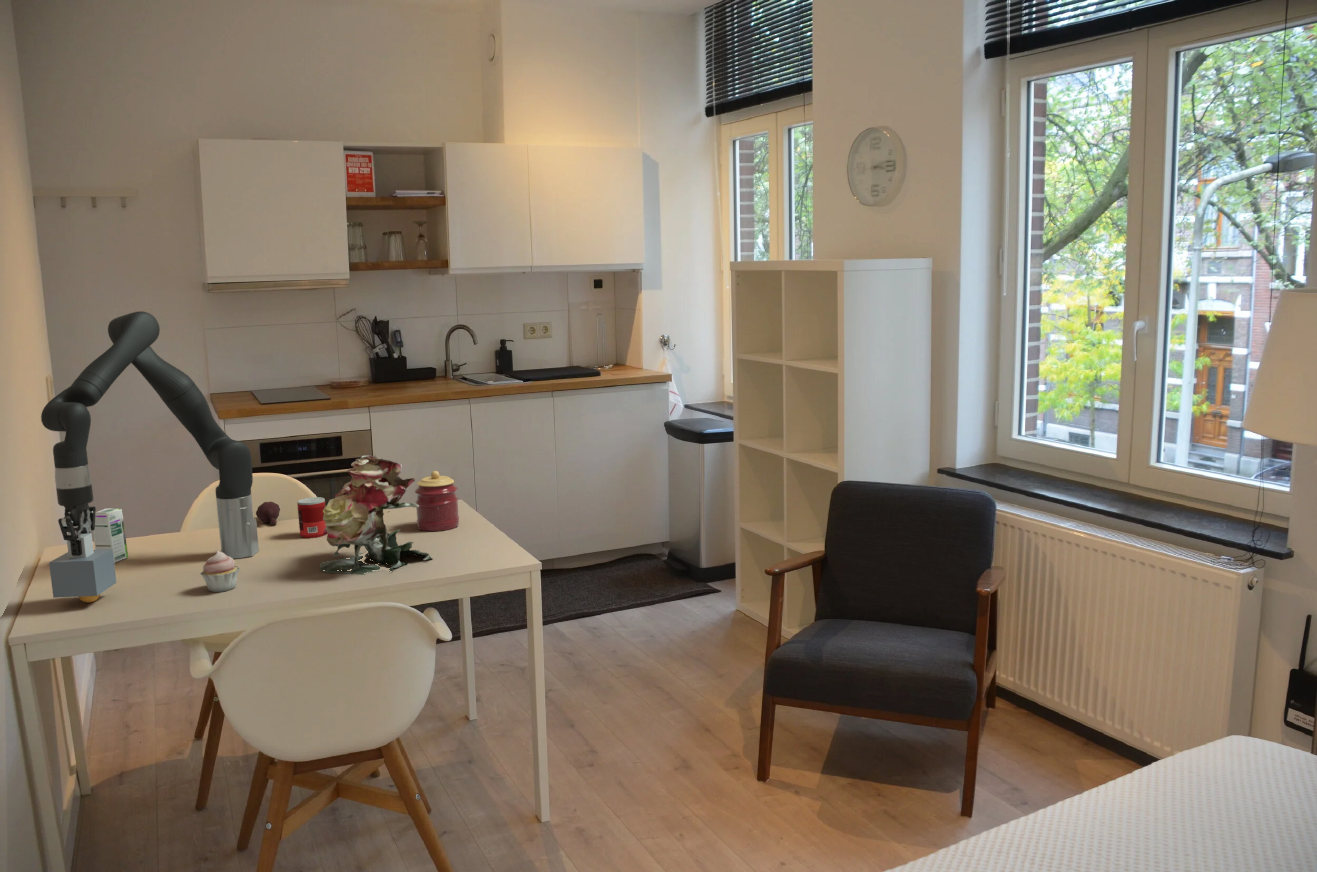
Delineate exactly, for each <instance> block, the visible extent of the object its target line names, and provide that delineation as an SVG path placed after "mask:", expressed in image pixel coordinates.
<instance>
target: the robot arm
mask: <svg viewBox="0 0 1317 872" xmlns="http://www.w3.org/2000/svg"><path fill="white" fill-rule="evenodd" d="M160 329H161V328H160V323H159V322H158V320H157V318H156V317H155V316H154V315H153V314H152V313H150V312H147V311H134V312H130V313H127V314H123V315H120V316H117V317H115V318H113V319H112V320H111V321H110V322H109V323H108V326H107V334H108V337H109V339H110V341H111V342H112V345H111V346H110V347H109V348H108V349H106V351H105V352H103V353H102V354H101V355H99V356H98V357H97V358H95V359H94V360H93V361H91V362H90V363H89V364H88V365H87V366H86V367H85V368H84V369H83V370H82V371H81V372H80V374H79V375H78V376H77V377H76V378H75V380H74V381H73V382H72V383H71V384H70V386H68V387H67V388H65V389H64V390H62V391H61V392H59V393H58V394H57V395H56V396H55V397H53V398H52V399H50V400H49V402H47V404H46V405H45V406H44V407H43V409H42V411H41V413H40V415H41V416H40V421H41V423H42V426H44V428H45V429H47V430H48V431H52V432H63V433H64V432H65V437H64V440H63V441H59V442H57V443H55V444H54V445H53V447H52V453H53V462H54V483H55V488H56V489H55V490H56V498H57V499H56V500H57V504H58V505H59V506H60V507H64V516H63V517H62V518H61V517H60V518H58V521H57V522H58V526H59V528H60V531H61V534H62V537H63V538H62V539H63V540H64V541H67V540H68V541H70V544H71V553H72V555H73V556H80V555H82V546H81V540H80V539H81V534H87V533H92V534H93V530H95V513H96V512H97V511H96V509H97V508H96V506H90V505H89V504H90V503H92V502H94V491H93V484H92V483H93V482H92V474H91V470H90V467H89V466H90V465H89V459H88V450H87V446H88V441H89V437H90V430H91V423H92V418H91V414H90V411H89V409H88V408H89V407H93V406H95V405H96V404H98V402H100V400H101V399H102V398H103V396H104V395H105V394H106V393H107V392H108V390H109V389H110V387H111V386H112V385H113V384H114V382H115V381H116V380H117V379H118V378H119V377H120V375H121V374H122V373H123V372H125V370H126V369H127V367H129V366H130V365H133V366H134V368H135V369H136V370H137V371H138V372H139V373H140V374H141V376H143V378H144V379H145V380H146V381H147V383H148V384H149V385H150V386H151V388H152V389H153V390H154V391H155V392H156V394H157V395H158V396H159V398H160V399H161V400H162V402H163V403H164V405H166V407H167V408H168V409H169V410H170V411H171V413H172V414H173V415H174V416H175V418H176V419H177V420H178V421H179V422H180V424H181V425H182V426H183V427H184V428H185V429H186V430H187V432H188V433H190V434H191V436H192V437H193V438H194V440H195V442H196V443H197V445H198V446H199V448H200V449H201V451H202V452H203V454H204V456H205V457H206V459H207V461H208V462H209V464H210V465H211V466H212V467H214V469H217V470H218V475H219V477H218V478H219V482H218V483H219V484H218V485H217V486H216V487H215V502H216V511H217V521H218V522H217V523H218V531H219V540H220V552H222V553H224V554H225V555H226V556H229V557H231V558H233V559H234V560H235V559H242V558H243V559H244V558H247V557H248V558H249V557H254V555H256V554H257V553H258V552H260V547H259V536H258V525H257V519H256V518H254V511H253V500H252V499H253V498H252V486H253V482H254V481H253V480H254V479H253V462H252V461H253V460H252V454H251V451H250V448H249V446H248V445H247V444H246V443H244V442H242V441H239V440H235V439H233V438H231V437H230V436H229V435H228V434H227V433H226V432H225V431H224V430H223V429H222V427H221V426H220V425H219V424H218V423H217V421H216V419H214V416H213V414H212V412H211V411H212V410H211V408H210V406H209V404H208V401H207V398H206V397H205V394H204V393H203V391H201V390H200V388H199V387H198V386H197V384H196V383H195V381H194V380H193V379H192V378H191V377H190V376H189V375H188V374H187V373H185V372H184V371H182V370H181V369H179V368H177V367H176V366H174V365H173V364H171V363H169V362H167V361H166V360H164V359H163V358H162V357H160V355H158V354H157V352H156V351H155V350H154V349H153V348H152V347H151V346H152V345H153V344H154V343H155V342H156V341H157V339H158V338H159V336H160Z"/></svg>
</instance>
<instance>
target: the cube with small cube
mask: <svg viewBox="0 0 1317 872" xmlns="http://www.w3.org/2000/svg"><path fill="white" fill-rule="evenodd" d="M80 540H81V546H82V555H80V556H73V555H72V553H71V544H70V541H68V540H66V545H67V552H66V553H64V554H61V555H60V556H57V557H56V558H55V559H52V560H51V561H49V562H48V565H49V573H50V581H51V589H52V596H53V598H55V599H56V598H75V597H77V598H79V597H80V596H98V595H99V594H100V595H101V594H102V593H104V592H105V591H106V590H108V589H110V588H111V587H112V586H114V585H116V584H117V575H116V567H115V563H114V557H113V549H102V550H95V549H94V543H93V541H94V540H93V532H92V533H87V534H81V539H80Z"/></svg>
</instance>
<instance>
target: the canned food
mask: <svg viewBox="0 0 1317 872" xmlns="http://www.w3.org/2000/svg"><path fill="white" fill-rule="evenodd" d="M296 502H297V503H296V504H297V513H298V524H299V525H298V527H299V534H300V537H301V538H303V539H317V538H321V537H324V536H327V534H325V535H323V532H324V529H325V528H326V525H325V522H324V520H323V516H324V513H323V510H324V508H325V506H326V500H325V498H324V497H319V496H317V497H313V496H312V497H305V498H302V499H299V500H297V501H296Z"/></svg>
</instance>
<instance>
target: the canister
mask: <svg viewBox="0 0 1317 872" xmlns="http://www.w3.org/2000/svg"><path fill="white" fill-rule="evenodd" d="M454 483H455V479H452V477H450V476H447V475H440V473H439V471H438V470H433V471H432V472H431V474H430V476H426V477H423V478H421V480H418V482H417V483H416V484H417V488H416V489H415V490H414V493H415V494H416V500H415V504H416V505H419V507H415V508H416V525H417V528H418V529H419V530H421V531H426V532H441V531H447V530H452V529H455V528H458V527H459V525H460V516H459V515H460V514H459V503H458V502H459V501H458V500H459V498H458V496H457V491H458V486H456V485H454Z"/></svg>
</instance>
